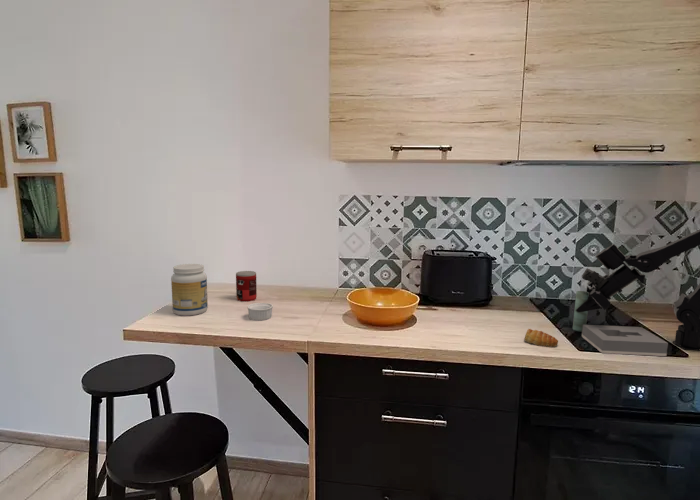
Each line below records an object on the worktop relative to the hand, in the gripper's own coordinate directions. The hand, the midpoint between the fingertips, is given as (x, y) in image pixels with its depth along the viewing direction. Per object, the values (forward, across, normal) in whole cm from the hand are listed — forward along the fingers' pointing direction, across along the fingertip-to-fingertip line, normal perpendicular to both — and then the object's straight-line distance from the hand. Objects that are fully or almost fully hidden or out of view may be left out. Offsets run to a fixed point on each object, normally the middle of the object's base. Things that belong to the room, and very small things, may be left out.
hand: (576, 308), depth 152 cm
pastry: (+13, +19, -2) cm, 23 cm away
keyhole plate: (-4, +11, +14) cm, 18 cm away
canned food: (+90, +23, -80) cm, 122 cm away
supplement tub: (+96, +46, -85) cm, 136 cm away
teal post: (+4, 0, +6) cm, 7 cm away
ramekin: (+77, +39, -66) cm, 109 cm away
